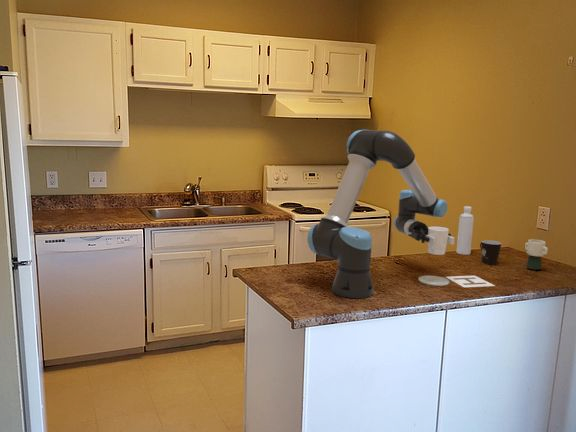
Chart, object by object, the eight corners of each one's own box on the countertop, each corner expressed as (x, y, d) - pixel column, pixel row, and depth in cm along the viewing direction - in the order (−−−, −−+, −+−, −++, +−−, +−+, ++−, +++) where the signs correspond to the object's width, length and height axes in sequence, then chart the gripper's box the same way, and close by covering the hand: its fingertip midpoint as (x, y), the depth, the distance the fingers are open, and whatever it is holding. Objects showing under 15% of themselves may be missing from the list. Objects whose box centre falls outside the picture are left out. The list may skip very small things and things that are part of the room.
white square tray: (464, 287, 201) (464, 287, 201) (445, 277, 214) (445, 276, 214) (495, 286, 204) (495, 285, 204) (474, 275, 218) (474, 275, 217)
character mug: (549, 271, 228) (553, 243, 226) (539, 273, 225) (543, 244, 223) (527, 265, 238) (531, 237, 236) (517, 266, 234) (521, 239, 232)
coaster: (427, 286, 200) (427, 285, 200) (413, 277, 212) (413, 276, 212) (455, 285, 203) (455, 283, 203) (439, 276, 215) (439, 275, 215)
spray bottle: (455, 250, 261) (459, 202, 256) (468, 251, 260) (473, 203, 256) (457, 254, 254) (462, 204, 250) (471, 255, 253) (476, 205, 249)
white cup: (422, 252, 205) (424, 228, 203) (432, 249, 211) (434, 225, 209) (441, 256, 200) (443, 231, 198) (450, 253, 206) (452, 228, 204)
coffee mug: (500, 266, 234) (503, 245, 232) (481, 264, 236) (483, 243, 234) (496, 260, 245) (498, 239, 244) (477, 258, 247) (479, 238, 245)
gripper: (436, 237, 225) (466, 250, 203) (393, 238, 220) (419, 251, 198) (438, 220, 223) (468, 231, 202) (395, 221, 218) (421, 232, 197)
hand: (444, 241), depth 200 cm, fingers closed on white cup, 7 cm apart
